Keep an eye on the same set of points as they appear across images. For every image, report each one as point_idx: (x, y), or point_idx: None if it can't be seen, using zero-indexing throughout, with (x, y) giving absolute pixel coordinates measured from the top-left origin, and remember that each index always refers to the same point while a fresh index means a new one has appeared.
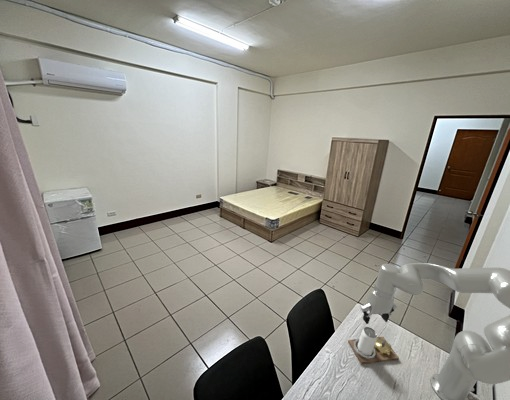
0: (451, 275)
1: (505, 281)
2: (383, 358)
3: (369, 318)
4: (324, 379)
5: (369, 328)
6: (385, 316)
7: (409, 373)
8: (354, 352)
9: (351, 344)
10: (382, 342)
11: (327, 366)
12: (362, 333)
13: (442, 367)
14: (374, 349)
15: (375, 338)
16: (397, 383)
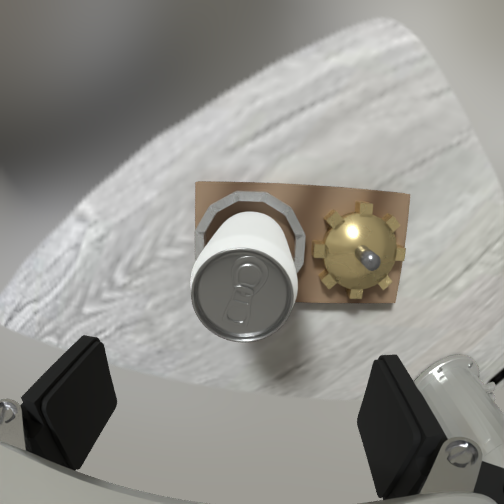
0: None
1: None
2: (320, 297)
3: (72, 466)
4: (49, 308)
5: (266, 259)
6: (378, 452)
7: (384, 345)
8: None
9: (196, 208)
10: (362, 257)
11: (65, 274)
12: (192, 270)
13: (468, 414)
14: (300, 263)
15: (258, 335)
16: (306, 369)
